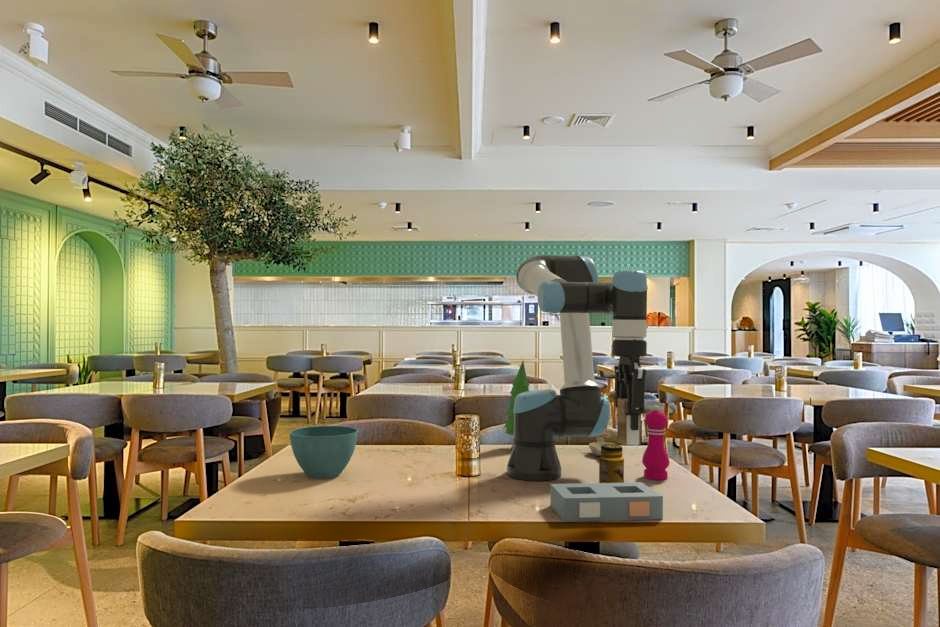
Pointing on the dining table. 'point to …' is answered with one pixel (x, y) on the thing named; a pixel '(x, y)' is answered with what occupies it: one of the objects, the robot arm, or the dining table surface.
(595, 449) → the oil lamp
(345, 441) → the plant pot
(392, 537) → the dining table surface
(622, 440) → the plug
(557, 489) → the socket block
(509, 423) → the decorative tree
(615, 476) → the condiment
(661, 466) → the pepper mill
